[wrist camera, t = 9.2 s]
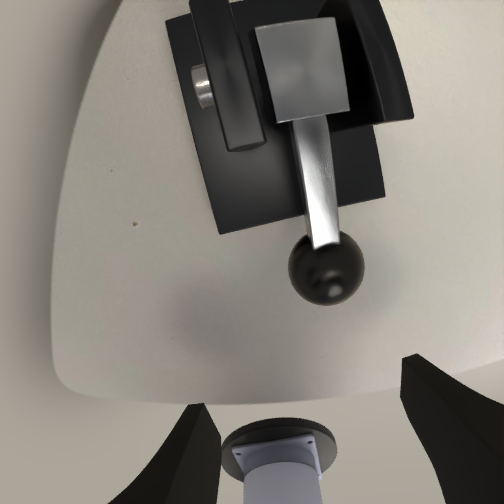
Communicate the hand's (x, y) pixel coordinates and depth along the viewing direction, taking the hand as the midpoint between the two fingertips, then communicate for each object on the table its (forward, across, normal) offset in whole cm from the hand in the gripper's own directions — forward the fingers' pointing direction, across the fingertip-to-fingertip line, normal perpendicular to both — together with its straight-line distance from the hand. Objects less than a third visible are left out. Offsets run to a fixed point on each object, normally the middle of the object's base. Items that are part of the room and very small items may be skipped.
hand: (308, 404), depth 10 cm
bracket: (+9, -2, -11) cm, 14 cm away
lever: (+4, -2, -7) cm, 9 cm away
